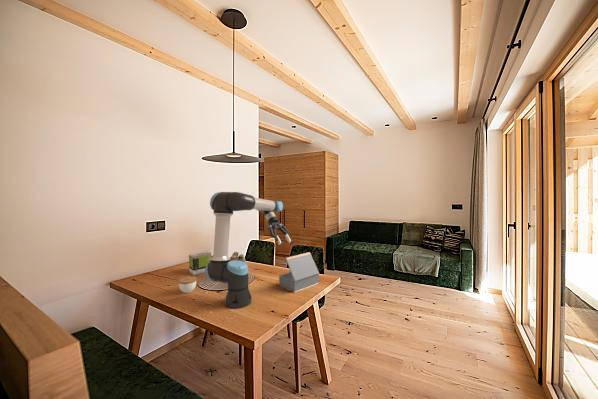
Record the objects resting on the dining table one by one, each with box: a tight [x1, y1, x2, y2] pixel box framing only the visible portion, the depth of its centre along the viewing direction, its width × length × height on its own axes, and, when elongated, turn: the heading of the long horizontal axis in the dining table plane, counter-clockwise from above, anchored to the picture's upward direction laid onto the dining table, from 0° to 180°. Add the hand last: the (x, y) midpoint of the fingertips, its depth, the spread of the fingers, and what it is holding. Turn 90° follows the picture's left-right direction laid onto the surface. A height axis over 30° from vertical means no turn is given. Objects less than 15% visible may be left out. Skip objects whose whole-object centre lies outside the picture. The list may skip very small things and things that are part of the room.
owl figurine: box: [229, 251, 246, 263], centre depth 199 cm, size 18×12×17 cm, turn 151°
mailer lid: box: [284, 251, 320, 281], centre depth 170 cm, size 22×16×1 cm
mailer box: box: [278, 271, 320, 293], centre depth 173 cm, size 22×16×7 cm
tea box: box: [188, 250, 212, 276], centre depth 203 cm, size 15×10×15 cm
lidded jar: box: [178, 276, 197, 294], centre depth 164 cm, size 11×11×9 cm
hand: (285, 242), depth 183 cm, fingers open, 8 cm apart
